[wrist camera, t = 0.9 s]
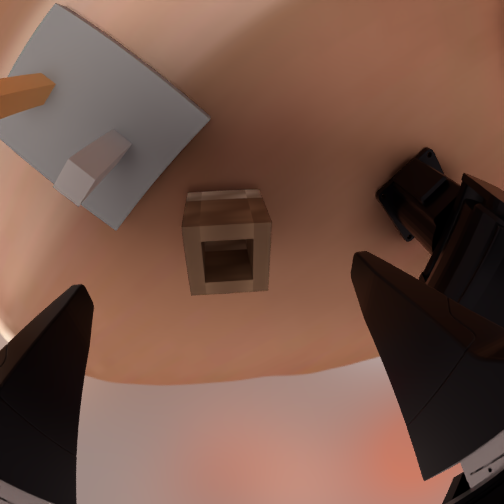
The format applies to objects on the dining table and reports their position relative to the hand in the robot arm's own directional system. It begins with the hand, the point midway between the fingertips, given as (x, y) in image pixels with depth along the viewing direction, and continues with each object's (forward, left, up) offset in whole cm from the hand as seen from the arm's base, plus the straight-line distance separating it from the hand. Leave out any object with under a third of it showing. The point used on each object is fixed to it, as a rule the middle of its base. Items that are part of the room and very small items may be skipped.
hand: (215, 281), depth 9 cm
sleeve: (-4, +3, -12) cm, 13 cm away
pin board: (+9, +3, -12) cm, 16 cm away
